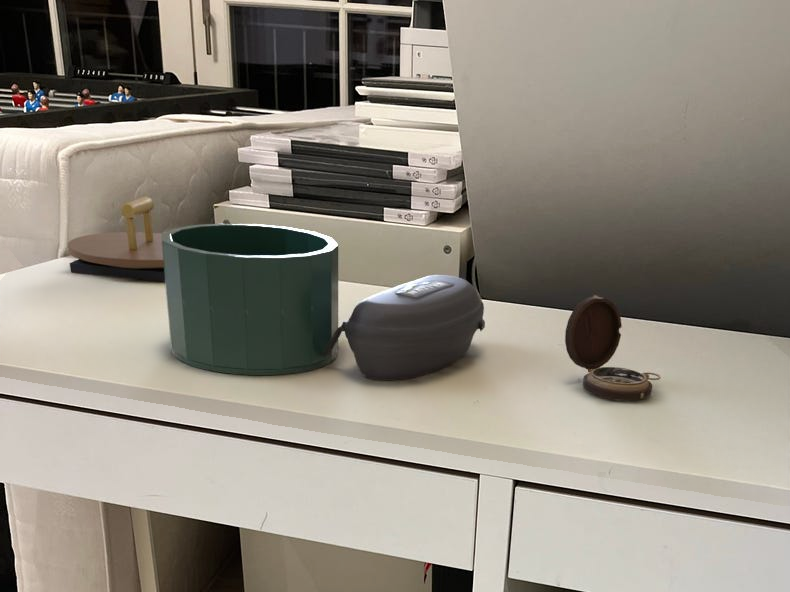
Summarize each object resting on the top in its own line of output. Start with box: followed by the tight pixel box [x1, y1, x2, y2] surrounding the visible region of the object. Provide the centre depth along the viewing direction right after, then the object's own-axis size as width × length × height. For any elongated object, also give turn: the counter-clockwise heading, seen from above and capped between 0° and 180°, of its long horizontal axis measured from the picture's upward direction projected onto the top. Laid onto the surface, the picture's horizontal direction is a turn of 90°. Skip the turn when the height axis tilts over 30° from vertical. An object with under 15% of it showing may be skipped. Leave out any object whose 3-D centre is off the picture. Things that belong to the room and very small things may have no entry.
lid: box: [67, 196, 164, 269], centre depth 111 cm, size 16×16×6 cm
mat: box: [69, 258, 165, 283], centre depth 113 cm, size 12×12×1 cm
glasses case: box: [324, 274, 486, 381], centre depth 88 cm, size 18×10×8 cm, turn 154°
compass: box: [564, 295, 661, 401], centre depth 86 cm, size 8×8×7 cm
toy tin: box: [161, 223, 339, 376], centre depth 86 cm, size 15×15×10 cm
